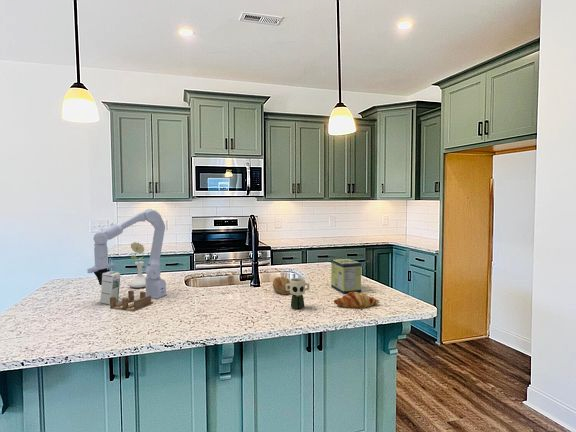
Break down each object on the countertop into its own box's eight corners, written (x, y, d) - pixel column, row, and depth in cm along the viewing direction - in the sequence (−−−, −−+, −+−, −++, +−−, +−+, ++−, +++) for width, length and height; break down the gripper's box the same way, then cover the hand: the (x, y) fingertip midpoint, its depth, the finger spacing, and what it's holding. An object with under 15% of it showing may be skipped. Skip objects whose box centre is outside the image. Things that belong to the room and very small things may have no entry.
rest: (153, 302, 179) (153, 292, 178) (133, 311, 167) (133, 300, 166) (130, 300, 183) (130, 290, 183) (110, 308, 171) (109, 297, 171)
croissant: (376, 310, 177) (374, 293, 180) (383, 306, 168) (381, 288, 171) (332, 311, 175) (331, 294, 178) (337, 307, 165) (335, 289, 169)
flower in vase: (155, 285, 212) (154, 241, 210) (137, 290, 202) (136, 244, 200) (140, 282, 219) (139, 240, 217) (123, 287, 209) (121, 242, 207)
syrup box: (110, 305, 176) (113, 275, 175) (99, 302, 177) (102, 272, 176) (118, 301, 182) (121, 272, 180) (107, 299, 183) (110, 270, 181)
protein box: (347, 285, 210) (347, 258, 209) (361, 292, 195) (361, 263, 194) (330, 287, 207) (330, 259, 206) (343, 294, 192) (343, 264, 191)
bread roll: (277, 296, 189) (277, 281, 188) (269, 289, 203) (269, 274, 202) (295, 295, 192) (295, 279, 191) (286, 287, 206) (286, 273, 205)
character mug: (286, 310, 166) (286, 281, 165) (284, 305, 173) (284, 278, 172) (310, 309, 167) (310, 281, 167) (308, 304, 174) (307, 277, 174)
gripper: (106, 254, 187) (107, 280, 188) (82, 259, 174) (83, 288, 174) (117, 254, 185) (118, 281, 186) (93, 259, 171) (95, 289, 172)
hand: (102, 284), depth 180 cm, fingers closed
